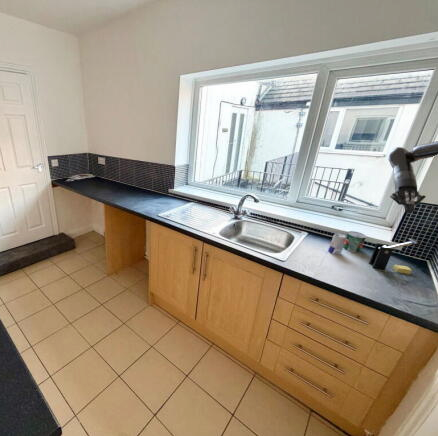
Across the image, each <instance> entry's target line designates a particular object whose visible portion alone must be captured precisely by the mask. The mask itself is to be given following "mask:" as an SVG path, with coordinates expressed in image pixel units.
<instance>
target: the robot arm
mask: <svg viewBox="0 0 438 436" xmlns="http://www.w3.org/2000/svg"><path fill="white" fill-rule="evenodd" d="M437 154H438V140H437V141H432V142H428V143H423V144H419V145H416V146H414V147H413V149H412V150H411V151H409V150H408V149H406V148H405V147H402V146H397V147H394V148H392V149H391V150H390V151H389V152H388V155H387V159H388V162H389V164H390V166H391V168H392V170H393V171H392V173H393V183H394V191H395V192H393V193H392V194H390V195H389V197H390V198H391V199H392V200H393V201H394V202H395V203H396V204H398V205H399V206H401V205H402V206H403V209H404V212H405V213H406V214H412V213H413V212H414V211H415V207H416V206H417V205H418V204H420V203H421V202H422V201H423V200H424V199H425V198H426V195H421V194H420V192H419V191H418V183H417V178H416V175H415V171H414V166H413V163H415V162H418V161H421V160H424V159H430V158H434V157H433V156H435V155H437Z"/></svg>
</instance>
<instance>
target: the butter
mask: <svg viewBox="0 0 438 436" xmlns="http://www.w3.org/2000/svg"><path fill="white" fill-rule="evenodd" d="M392 269H393V270H394V271H395V272H396V273H401V274H406V275H411V273H412V271H413V270H412V269H411V268H410V267H409V266H407V265H400V264H393V267H392Z"/></svg>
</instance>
